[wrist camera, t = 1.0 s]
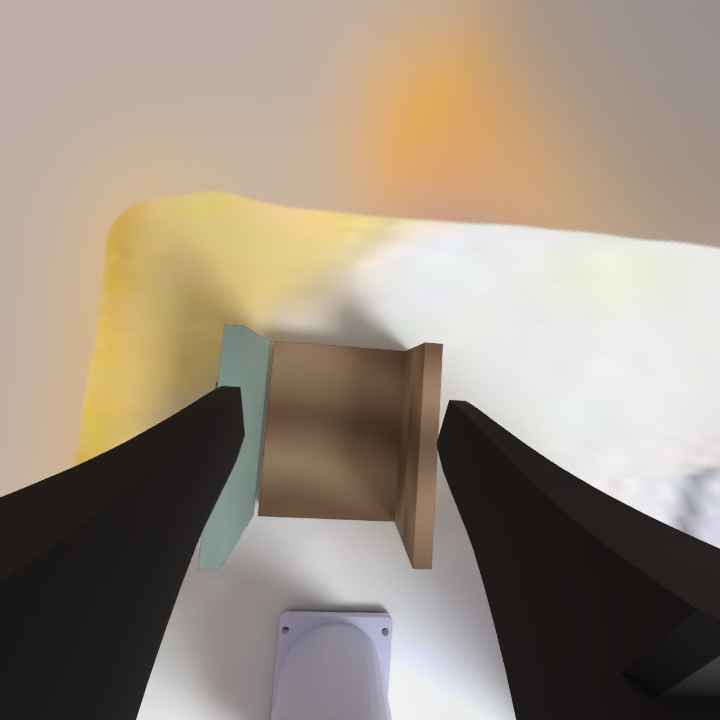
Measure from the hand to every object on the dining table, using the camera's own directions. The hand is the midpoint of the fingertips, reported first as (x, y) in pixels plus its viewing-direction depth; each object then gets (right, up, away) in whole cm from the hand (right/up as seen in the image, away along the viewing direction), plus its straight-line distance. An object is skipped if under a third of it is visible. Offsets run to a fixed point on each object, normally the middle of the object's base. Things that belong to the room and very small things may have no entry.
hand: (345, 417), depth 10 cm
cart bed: (-1, -3, +12) cm, 12 cm away
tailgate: (-6, -3, +10) cm, 12 cm away
